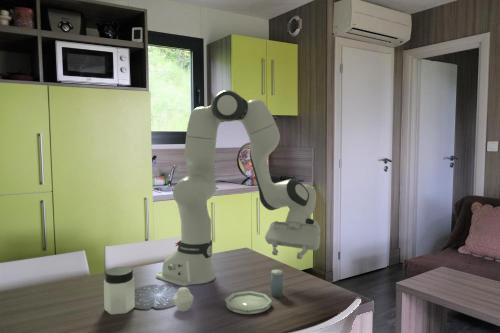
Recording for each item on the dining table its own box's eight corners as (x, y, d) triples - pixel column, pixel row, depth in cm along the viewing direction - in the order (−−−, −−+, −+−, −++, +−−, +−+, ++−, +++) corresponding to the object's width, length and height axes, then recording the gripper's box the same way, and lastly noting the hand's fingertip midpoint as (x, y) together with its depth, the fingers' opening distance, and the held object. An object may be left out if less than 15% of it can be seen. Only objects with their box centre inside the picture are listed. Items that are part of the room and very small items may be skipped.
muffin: (175, 304, 126) (175, 283, 125) (195, 305, 126) (194, 283, 125) (171, 313, 120) (171, 290, 119) (191, 313, 119) (191, 291, 119)
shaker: (269, 295, 133) (269, 272, 133) (273, 291, 137) (273, 268, 136) (280, 297, 132) (280, 274, 131) (284, 293, 135) (284, 270, 135)
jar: (102, 316, 118) (101, 276, 117) (106, 304, 126) (105, 267, 125) (134, 313, 120) (133, 274, 119) (135, 302, 128) (134, 265, 127)
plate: (218, 310, 122) (218, 304, 122) (238, 293, 135) (238, 288, 135) (260, 318, 116) (260, 313, 116) (277, 301, 129) (277, 295, 129)
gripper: (269, 216, 151) (257, 247, 143) (321, 221, 142) (311, 255, 134) (274, 225, 155) (262, 256, 148) (324, 231, 146) (315, 265, 138)
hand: (286, 256), depth 141 cm, fingers open, 8 cm apart
